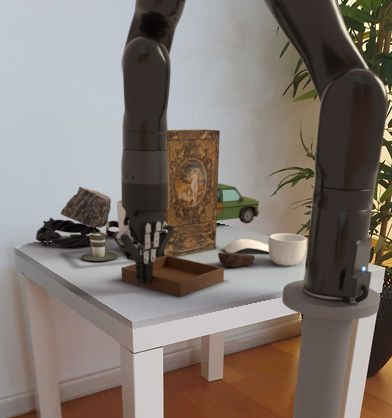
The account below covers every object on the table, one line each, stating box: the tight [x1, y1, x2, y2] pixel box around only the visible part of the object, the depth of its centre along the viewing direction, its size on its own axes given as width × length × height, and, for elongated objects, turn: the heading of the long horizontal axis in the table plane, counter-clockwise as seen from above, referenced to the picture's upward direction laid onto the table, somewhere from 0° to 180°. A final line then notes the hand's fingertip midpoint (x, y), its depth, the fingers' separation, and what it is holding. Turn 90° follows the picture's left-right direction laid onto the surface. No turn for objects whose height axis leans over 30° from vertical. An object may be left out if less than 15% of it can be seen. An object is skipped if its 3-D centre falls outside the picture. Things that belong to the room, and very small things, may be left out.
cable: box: [35, 217, 102, 248], centre depth 130 cm, size 17×14×4 cm
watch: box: [105, 220, 119, 239], centre depth 136 cm, size 8×5×4 cm, turn 4°
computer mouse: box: [224, 238, 269, 254], centre depth 125 cm, size 9×12×3 cm
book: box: [157, 129, 221, 257], centre depth 119 cm, size 16×6×25 cm, turn 132°
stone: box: [217, 252, 256, 268], centre depth 113 cm, size 7×7×3 cm
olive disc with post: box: [80, 232, 119, 262], centre depth 116 cm, size 12×12×5 cm
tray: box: [121, 255, 225, 297], centre depth 102 cm, size 14×12×2 cm
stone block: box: [60, 186, 112, 229], centre depth 131 cm, size 14×9×8 cm, turn 176°
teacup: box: [267, 232, 308, 267], centre depth 115 cm, size 10×8×5 cm
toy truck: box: [217, 183, 260, 224], centre depth 151 cm, size 11×21×10 cm, turn 120°
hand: (144, 282), depth 96 cm, fingers closed
